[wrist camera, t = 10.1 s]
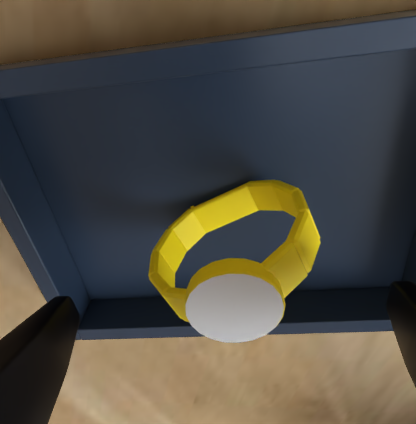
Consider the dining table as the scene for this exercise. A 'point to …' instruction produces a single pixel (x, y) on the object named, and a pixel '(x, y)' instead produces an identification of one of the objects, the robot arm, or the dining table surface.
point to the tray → (216, 167)
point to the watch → (236, 264)
